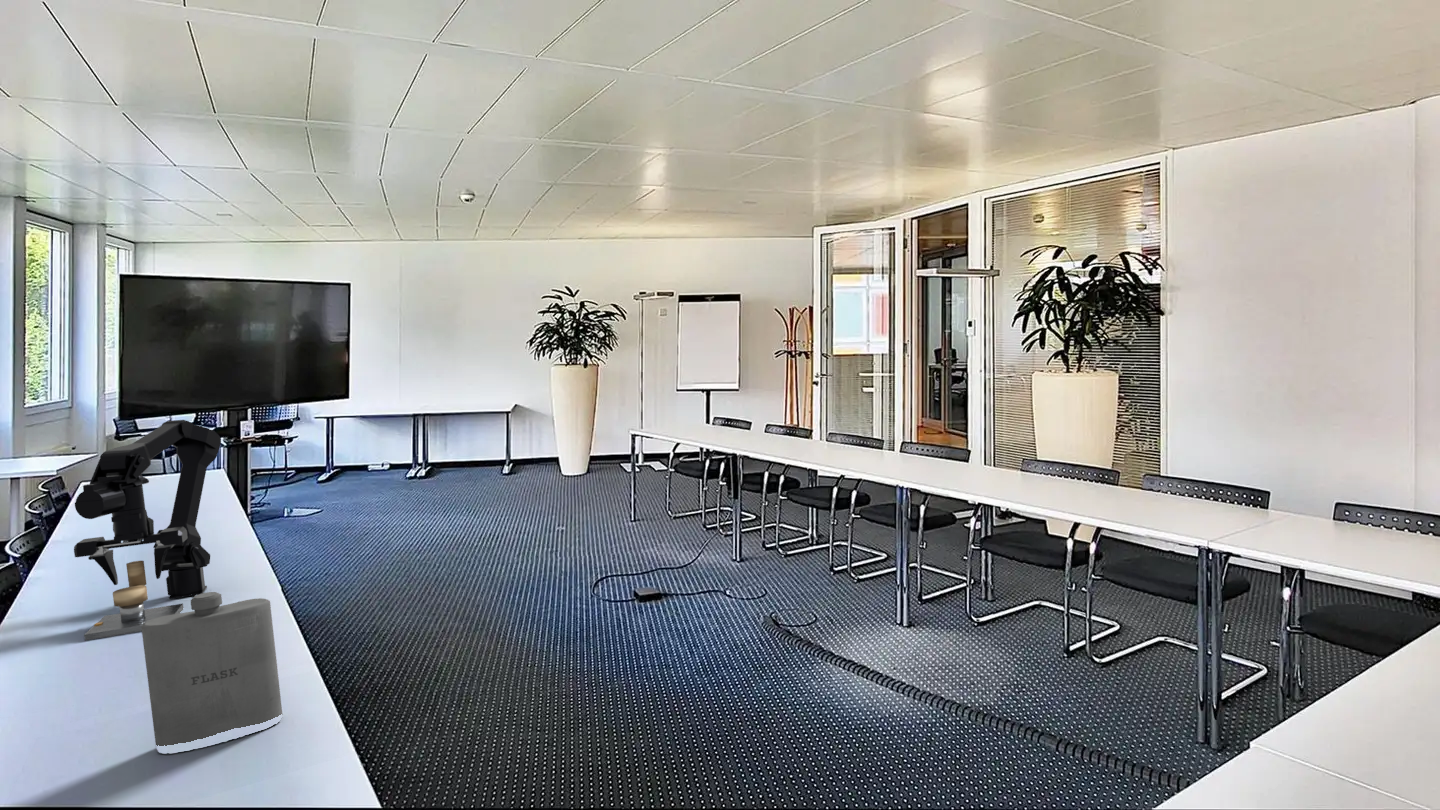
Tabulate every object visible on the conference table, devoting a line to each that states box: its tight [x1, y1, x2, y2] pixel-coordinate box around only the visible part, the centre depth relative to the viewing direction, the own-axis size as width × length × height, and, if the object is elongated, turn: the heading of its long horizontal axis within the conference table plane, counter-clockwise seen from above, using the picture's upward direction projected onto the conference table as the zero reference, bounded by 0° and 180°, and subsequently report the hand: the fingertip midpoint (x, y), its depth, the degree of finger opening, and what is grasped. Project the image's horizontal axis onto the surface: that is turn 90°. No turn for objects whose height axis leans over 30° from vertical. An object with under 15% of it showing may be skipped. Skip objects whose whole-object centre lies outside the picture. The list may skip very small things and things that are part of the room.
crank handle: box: [112, 560, 149, 607], centre depth 168 cm, size 10×6×7 cm, turn 23°
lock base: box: [83, 602, 185, 642], centre depth 166 cm, size 14×13×4 cm
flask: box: [141, 591, 283, 746], centre depth 111 cm, size 15×6×20 cm, turn 122°
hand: (137, 581), depth 171 cm, fingers open, 7 cm apart
